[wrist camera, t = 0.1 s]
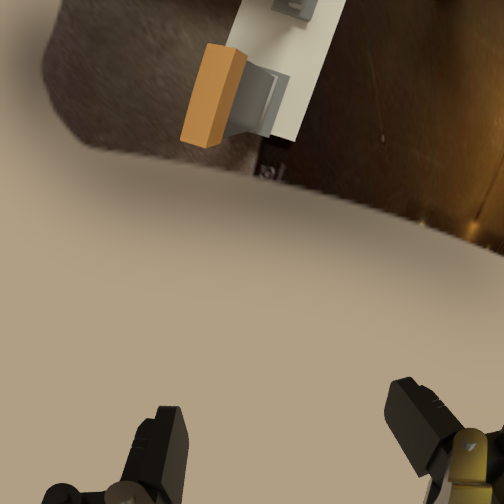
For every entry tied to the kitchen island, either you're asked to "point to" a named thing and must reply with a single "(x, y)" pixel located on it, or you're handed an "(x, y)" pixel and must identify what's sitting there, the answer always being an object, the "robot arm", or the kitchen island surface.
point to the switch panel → (286, 53)
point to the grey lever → (297, 4)
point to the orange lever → (226, 97)
